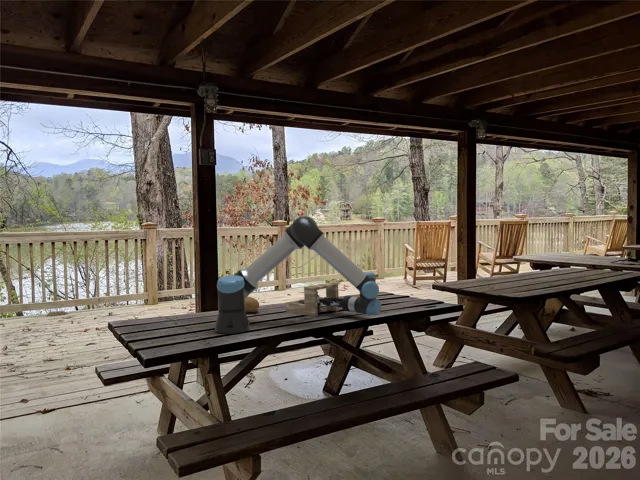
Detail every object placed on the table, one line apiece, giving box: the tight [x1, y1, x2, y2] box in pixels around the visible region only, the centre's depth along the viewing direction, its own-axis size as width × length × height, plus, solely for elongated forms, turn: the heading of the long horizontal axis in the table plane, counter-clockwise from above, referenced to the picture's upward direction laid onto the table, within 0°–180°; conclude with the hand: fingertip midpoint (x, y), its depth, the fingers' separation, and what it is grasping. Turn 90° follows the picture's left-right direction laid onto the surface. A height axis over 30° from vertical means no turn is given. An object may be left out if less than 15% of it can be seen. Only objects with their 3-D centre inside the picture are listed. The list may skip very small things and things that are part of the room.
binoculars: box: [302, 290, 322, 312], centre depth 244 cm, size 9×11×10 cm
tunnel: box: [285, 282, 340, 318], centre depth 243 cm, size 18×21×14 cm
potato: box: [245, 296, 260, 313], centre depth 246 cm, size 10×14×8 cm
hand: (316, 299), depth 241 cm, fingers closed
